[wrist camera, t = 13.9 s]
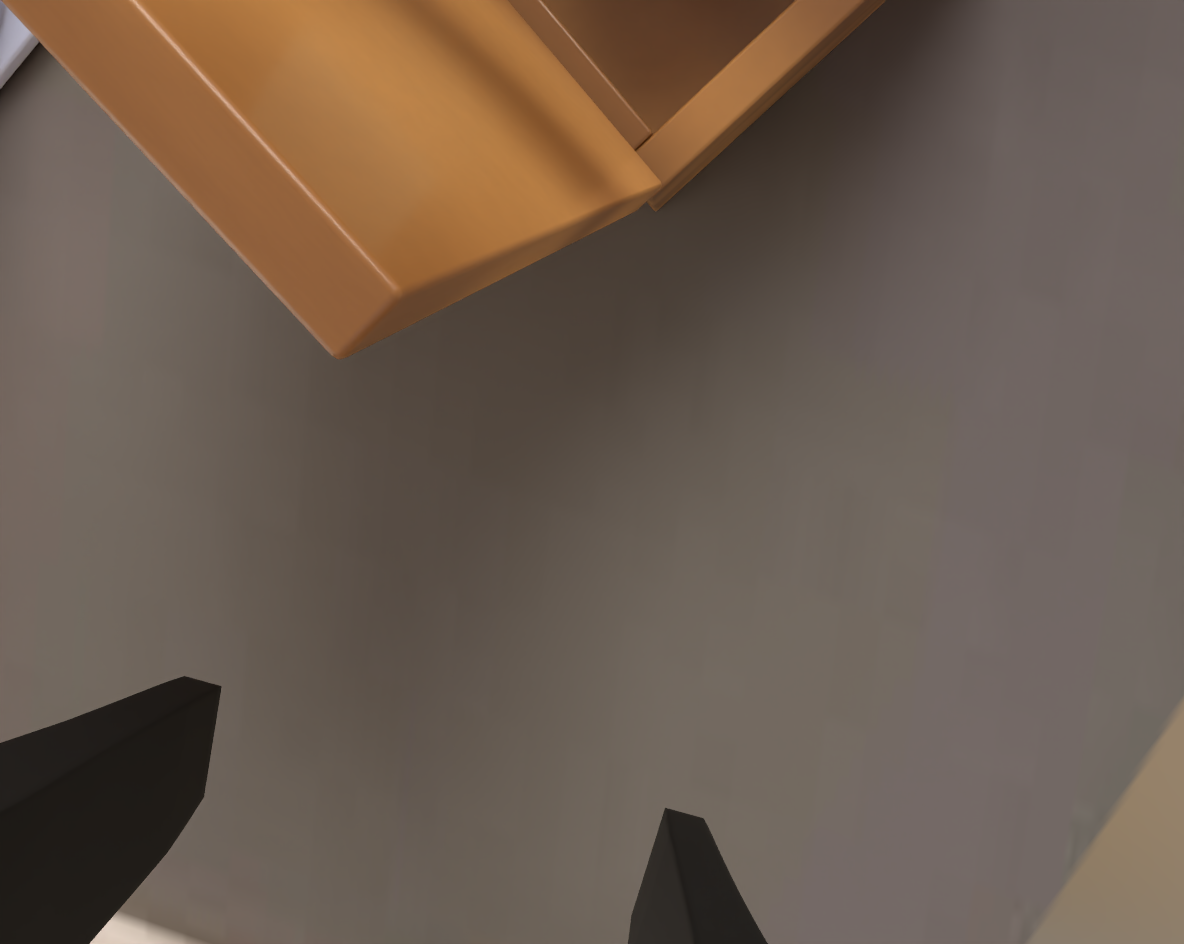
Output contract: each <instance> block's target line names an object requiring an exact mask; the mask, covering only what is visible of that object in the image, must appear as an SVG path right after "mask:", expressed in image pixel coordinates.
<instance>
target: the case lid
mask: <svg viewBox="0 0 1184 944" xmlns="http://www.w3.org/2000/svg"><path fill="white" fill-rule="evenodd" d="M1 1H2V2H3V3H4V4H5V5H6V6H7V7H8V8H9V9H10V11H11V12H12V13H13V14H14V15H15V16H16V17H17V18H18V19H19V20H20V21H21V22H22V23H23V25H24V26H25V27H26V28H27V29H28V30H29V31H30V32H31V33H32V34H33V35H34V36H35V37H36V38H37V40H38V41H39V42H40V43H41V44H42V45H43V46H44V47H45V48H46V49H47V50H48V51H49V52H50V54H51V55H52V56H53V57H54V58H55V59H56V60H57V61H58V62H59V63H60V64H61V65H62V66H63V67H64V69H65V70H66V71H67V72H68V73H69V74H70V75H71V76H72V77H73V78H74V79H75V80H76V81H77V83H78V84H79V85H80V86H81V87H82V88H83V89H84V90H85V91H86V92H87V93H88V94H89V95H90V97H91V98H92V99H93V100H94V101H95V102H96V103H97V104H98V105H99V106H100V107H101V108H102V109H103V110H104V112H105V113H106V114H107V115H108V116H109V117H110V118H111V119H112V120H113V121H114V122H115V123H116V124H117V126H118V127H119V128H120V129H121V130H122V131H123V132H124V133H125V134H126V135H127V136H128V137H129V138H130V139H131V141H132V142H133V143H134V144H135V145H136V146H137V147H138V148H139V149H140V150H141V151H142V152H143V153H144V155H145V156H146V157H147V158H148V159H149V160H150V161H151V162H152V163H153V164H154V165H155V166H156V167H157V169H158V170H159V171H160V172H161V173H162V174H163V175H164V176H165V177H166V178H167V179H168V180H169V181H170V182H171V184H172V185H173V186H174V187H175V188H176V189H177V190H178V191H179V192H180V193H181V194H182V195H183V196H184V198H185V199H186V200H187V201H188V202H189V203H190V204H191V205H192V206H193V207H194V208H195V209H196V210H197V211H198V213H199V214H200V215H201V216H202V217H203V218H204V219H205V220H206V221H207V222H208V223H209V224H210V225H211V227H212V228H213V229H214V230H215V231H216V232H217V233H218V234H219V235H220V236H221V237H222V238H223V239H224V241H225V242H226V243H227V244H228V245H229V246H230V247H231V248H232V249H233V250H234V251H235V252H236V253H237V254H238V256H239V257H240V258H241V259H242V260H243V261H244V262H245V263H246V264H247V265H248V266H249V267H250V268H251V270H252V271H253V272H254V273H255V274H256V275H257V276H258V277H259V278H260V279H261V280H262V281H263V282H264V283H265V285H266V286H267V287H268V288H269V289H270V290H271V291H272V292H273V293H274V294H275V295H276V296H277V297H278V299H279V300H280V301H281V302H282V303H283V304H284V305H285V306H286V307H287V308H288V309H289V310H290V311H291V313H292V314H293V315H294V316H295V317H296V318H297V319H298V320H299V321H300V322H301V323H302V324H303V325H304V326H305V328H306V329H307V330H308V331H309V332H310V333H311V334H312V335H313V336H314V337H315V338H316V339H317V340H318V342H319V343H320V344H321V345H322V346H323V347H324V348H325V349H326V350H327V351H328V352H329V353H330V354H331V355H332V356H333V357H335V358H337V359H343V358H346V357H349V356H350V355H352V354H354V353H356V352H358V351H360V350H362V349H364V348H366V347H368V346H370V345H372V344H374V343H376V342H378V341H380V340H382V339H384V338H386V337H388V336H390V335H392V334H394V333H396V332H398V331H400V330H402V329H404V328H406V327H408V326H410V325H412V324H414V323H416V322H418V321H420V320H422V319H424V318H426V317H428V316H430V315H431V314H433V313H435V312H437V311H439V310H441V309H443V308H445V307H447V306H449V305H451V304H453V303H455V302H457V301H459V300H461V299H463V298H465V297H467V296H469V295H471V294H473V293H475V292H477V291H479V290H481V289H483V288H485V287H487V286H489V285H491V284H493V283H495V282H497V281H499V280H501V279H503V278H505V277H507V276H509V275H510V274H512V273H514V272H516V271H518V270H520V269H522V268H524V267H526V266H528V265H530V264H532V263H534V262H536V261H538V260H540V259H542V258H544V257H546V256H548V255H550V254H552V253H554V252H556V251H558V250H560V249H562V248H564V247H566V246H568V245H570V244H572V243H574V242H576V241H578V240H580V239H582V238H584V237H586V236H588V235H590V234H591V233H593V232H595V231H597V230H599V229H601V228H603V227H605V226H607V225H609V224H611V223H613V222H615V221H617V220H619V219H621V218H623V217H625V216H627V215H629V214H631V213H633V212H635V211H637V210H638V209H639V208H640V207H641V206H642V205H643V204H644V203H645V202H646V201H647V200H648V199H650V198H651V197H652V196H653V195H654V194H655V193H656V192H657V191H658V190H659V189H660V188H661V186H662V184H661V181H660V180H659V179H658V178H657V177H656V175H655V174H654V173H653V172H652V171H651V169H650V168H649V167H648V166H647V165H646V164H645V162H644V161H643V160H642V159H641V158H640V156H639V155H638V154H637V153H636V152H635V151H634V149H633V148H632V147H631V146H630V145H629V143H628V142H627V141H626V140H625V139H624V137H623V136H622V135H621V134H620V133H619V132H618V130H617V129H616V128H615V127H614V126H613V124H612V123H611V122H610V121H609V120H608V119H607V117H606V116H605V115H604V114H603V113H602V111H601V110H600V109H599V108H598V107H597V106H596V104H595V103H594V102H593V101H592V100H591V98H590V97H589V96H588V95H587V94H586V92H585V91H584V90H583V89H582V88H581V87H580V85H579V84H578V83H577V82H576V81H575V79H574V78H573V77H572V76H571V75H570V74H569V72H568V71H567V70H566V69H565V68H564V66H563V65H562V64H561V63H560V62H559V61H558V59H557V58H556V57H555V56H554V55H553V53H552V52H551V51H550V50H549V49H548V47H547V46H546V45H545V44H544V43H543V42H542V40H541V39H540V38H539V37H538V36H537V34H536V33H535V32H534V31H533V30H532V29H531V27H530V26H529V25H528V24H527V23H526V21H525V20H524V19H523V18H522V17H521V16H520V14H519V13H518V12H517V11H516V10H515V8H514V7H513V6H512V5H511V4H510V2H509V1H508V0H1Z"/></svg>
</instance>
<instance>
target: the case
mask: <svg viewBox="0 0 1184 944" xmlns="http://www.w3.org/2000/svg"><path fill="white" fill-rule="evenodd" d="M508 1H509V2H510V4H511V5H512V6H513V7H514V8H515V10H516V11H517V12H518V13H519V14H520V16H521V17H522V18H523V19H524V20H525V21H526V23H527V24H528V25H529V26H530V27H531V29H532V30H533V31H534V32H535V33H536V34H537V36H538V37H539V38H540V39H541V40H542V42H543V43H544V44H545V45H546V46H547V47H548V49H549V50H550V51H551V52H552V53H553V55H554V56H555V57H556V58H557V59H558V61H559V62H560V63H561V64H562V65H563V66H564V68H565V69H566V70H567V71H568V72H569V74H570V75H571V76H572V77H573V78H574V79H575V81H576V82H577V83H578V84H579V85H580V87H581V88H582V89H583V90H584V91H585V92H586V94H587V95H588V96H589V97H590V98H591V100H592V101H593V102H594V103H595V104H596V106H597V107H598V108H599V109H600V110H601V111H602V113H603V114H604V115H605V116H606V117H607V119H608V120H609V121H610V122H611V123H612V124H613V126H614V127H615V128H616V129H617V130H618V132H619V133H620V134H621V135H622V136H623V137H624V139H625V140H626V141H627V142H628V143H629V145H630V146H631V147H632V148H633V149H634V151H635V152H636V153H637V154H638V155H639V156H640V158H641V159H642V160H643V161H644V162H645V164H646V165H647V166H648V167H649V168H650V169H651V171H652V172H653V173H654V174H655V175H656V177H657V178H658V179H659V180H660V181H661V184H662V186H661V188H660V189H659V190H658V191H657V192H656V193H655V194H654V195H653V196H652V197H651V198H650V199H648V200H647V201H646V202H647V203H648V204H649V205H650V206H651V208H652V209H653V210H654V211H658V210H659V209H660V208H661V207H662V206H663V205H664V204H665V203H666V202H667V201H669V200H670V199H671V198H672V197H673V196H674V195H675V194H676V193H677V192H678V191H679V190H681V189H682V188H683V187H684V186H685V185H686V184H687V183H688V182H689V181H690V180H691V179H693V178H694V177H695V176H696V175H697V174H698V173H699V172H700V171H701V170H702V169H703V168H704V167H706V166H707V165H708V164H709V163H710V162H711V161H712V160H713V159H714V158H715V157H716V156H718V155H719V154H720V153H721V152H722V151H723V150H724V149H725V148H726V147H727V146H728V145H730V144H731V143H732V142H733V141H734V140H735V139H736V138H737V137H738V136H739V135H740V134H741V133H743V132H744V131H745V130H746V129H747V128H748V127H749V126H750V125H751V124H752V123H753V122H755V121H756V120H757V119H758V118H759V117H760V116H761V115H762V114H763V113H764V112H765V111H767V110H768V109H769V108H770V107H771V106H772V105H773V104H774V103H775V102H776V101H777V100H778V99H780V98H781V97H782V96H783V95H784V94H785V93H786V92H787V91H788V90H789V89H790V88H792V87H793V86H794V85H795V84H796V83H797V82H798V81H799V80H800V79H801V78H802V77H804V76H805V75H806V74H807V73H808V72H809V71H810V70H811V69H812V68H813V67H814V66H816V65H817V64H818V63H819V62H820V61H821V60H822V59H823V58H824V57H825V56H826V55H827V54H829V53H830V52H831V51H832V50H833V49H834V48H835V47H836V46H837V45H838V44H839V43H841V42H842V41H843V40H844V39H845V38H846V37H847V36H848V35H849V34H850V33H851V32H853V31H854V30H855V29H856V28H857V27H858V26H859V25H860V24H861V23H862V22H863V21H864V20H866V19H867V18H868V17H869V16H870V15H871V14H872V13H873V12H874V11H875V10H876V9H878V8H879V7H880V6H881V5H882V4H883V3H884V2H885V1H886V0H508Z"/></svg>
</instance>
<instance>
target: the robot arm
mask: <svg viewBox="0 0 1184 944" xmlns="http://www.w3.org/2000/svg"><path fill="white" fill-rule="evenodd" d="M38 43H39V41H38V40H37V38H36V37H35V36H34V35H33V34H32V33H31V32H30V31H29V30H28V29H27V28H26V27H25V26H24V25H23V23H22V22H21V21H20V20H19V19H18V18H17V17H16V16H15V15H14V14H13V13H12V12H11V11H10V9H9V8H8V7H7V6H6V5H5V4H4V3H3V2H2V1H1V0H0V89H1V88H2V87H3V85H4V84H5V83H6V82H7V80H8V79H9V78H10V77H11V76H12V74H13V73H14V72H15V71H16V69H17V68H18V67H19V66H20V65H21V63H22V62H23V61H24V60H25V59H26V57H27V56H28V55H29V54H30V52H31V51H32V50H33V49H34V48H35V46H36V45H37V44H38ZM220 693H221V686H219V685H215V684H211V683H208V682H204V681H200V680H197V679H193V678H189V677H186V676H184V677H180V678H177V679H174V680H171V681H168V682H166V683H163V684H160V685H158V686H155V687H152V688H150V689H147V690H145V691H142V692H140V693H137V694H134V695H132V696H129V697H127V698H124V699H122V700H119V701H117V702H114V703H111V704H109V705H106V706H104V707H101V708H98V709H96V710H93V711H91V712H88V713H85V714H83V715H80V716H78V717H75V718H72V719H70V720H67V721H64V722H61V723H58V724H55V725H52V726H49V727H46V728H43V729H41V730H38V731H35V732H32V733H29V734H26V735H23V736H20V737H17V738H14V739H11V740H8V741H5V742H2V743H0V944H89V943H90V942H91V941H92V940H93V939H94V938H95V936H96V935H97V934H98V933H99V932H100V931H101V929H102V928H103V927H104V926H105V925H106V924H107V922H108V921H109V920H110V919H111V918H112V917H113V916H114V914H115V913H116V912H117V911H118V910H119V909H120V907H121V906H122V905H123V904H124V903H125V902H126V901H127V899H128V898H129V897H130V896H131V895H132V894H133V892H134V891H135V890H136V889H137V888H138V887H139V885H140V884H141V883H142V882H143V881H144V880H145V878H146V877H147V876H148V875H149V874H150V872H151V871H152V870H153V869H154V868H155V867H156V865H157V864H158V863H159V862H160V861H161V859H162V858H163V857H164V856H165V855H166V853H167V852H168V851H169V849H170V848H171V846H172V845H173V843H174V842H175V840H176V839H177V838H178V836H179V835H180V833H181V832H182V830H183V829H184V827H185V826H186V824H187V823H188V821H189V819H190V818H191V816H192V815H193V813H194V812H195V810H196V808H197V807H198V805H199V804H200V802H201V801H202V799H203V798H204V793H205V786H206V780H207V774H208V768H209V761H210V755H211V749H212V743H213V736H214V730H215V724H216V718H217V711H218V705H219V699H220ZM628 944H768V943H767V942H766V940H765V938H764V937H763V935H762V933H761V931H760V930H759V928H758V926H757V924H756V923H755V921H754V919H753V917H752V915H751V913H750V911H749V910H748V908H747V906H746V904H745V902H744V900H743V898H742V897H741V895H740V893H739V891H738V889H737V887H736V885H735V883H734V881H733V879H732V877H731V875H730V873H729V871H728V869H727V867H726V864H725V862H724V860H723V858H722V856H721V854H720V852H719V850H718V847H717V845H716V843H715V841H714V839H713V836H712V834H711V832H710V830H709V828H708V826H707V824H706V822H705V820H704V819H703V818H700V817H697V816H693V815H689V814H686V813H682V812H678V811H675V810H671V809H667V808H665V810H664V814H663V817H662V820H661V823H660V826H659V830H658V833H657V836H656V839H655V842H654V845H653V849H652V852H651V855H650V858H649V861H648V865H647V868H646V871H645V874H644V877H643V881H642V884H641V887H640V890H639V893H638V897H637V900H636V903H635V906H634V909H633V913H632V916H631V924H630V932H629V940H628Z"/></svg>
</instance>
